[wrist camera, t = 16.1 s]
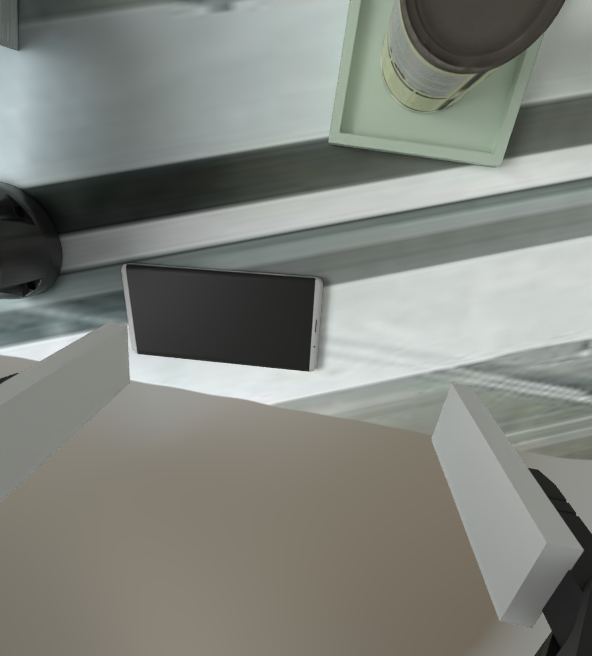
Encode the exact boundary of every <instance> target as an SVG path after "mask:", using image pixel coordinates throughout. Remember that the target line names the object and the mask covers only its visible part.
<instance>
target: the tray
mask: <svg viewBox="0 0 592 656" xmlns="http://www.w3.org/2000/svg"><path fill="white" fill-rule="evenodd" d="M393 4H394V0H350V4H349V10H348V17H347V24H346V30H345V37H344V43H343V50H342V56H341V63H340V69H339V76H338V82H337V89H336V96H335V102H334V109H333V115H332V122H331V128H330V135H329V141H328V143H329V144H331V145H338V146H345V147H352V148H359V149H366V150H374V151H381V152H388V153H395V154H402V155H409V156H416V157H423V158H431V159H438V160H445V161H452V162H459V163H466V164H473V165H481V166H488V167H498V166H501V163H502V160H503V157H504V154H505V151H506V148H507V145H508V142H509V139H510V136H511V133H512V130H513V127H514V123H515V120H516V117H517V114H518V111H519V108H520V105H521V102H522V99H523V96H524V93H525V90H526V87H527V84H528V81H529V77H530V74H531V71H532V68H533V65H534V62H535V59H536V56H537V53H538V50H539V47H540V44H541V41H542V38H543V35H544V33H543V34H542V35H541V36H540V37H539V38H538V39H537V40H536V41H535V42H534V43H533V44H532V45H531V46H530V47H529V48H527V49H526V50H525V51H524V52H522V53H521V54H520V55H518V56H517V57H515V58H514V59H512V60H511V61H509V62H507V63H505V64H503V65H502V66H501V67H500V68H499V69H497V70H496V71H495V72H494V73H492V74H491V75H490V76H489V77H487V78H486V79H485V80H483V81H482V82H481V83H480V84H478V85H477V86H476V87H475V88H473V89H472V90H471V91H470V92H468V93H467V94H466V95H465V96H464V97H463V98H462V99H461V100H460V101H459V102H457V103H456V104H454V105H453V106H452V107H449V108H448V109H445V110H443V111H440V112H436V113H431V114H420V113H413V112H411V111H409V110H406V109H404V108H403V107H401V106H400V105H399V104H397V103H396V102H395V101H394V100H393V99H392V97H391V96H390V95H389V93H388V91H387V90H386V88H385V86H384V83H383V79H382V75H381V68H380V54H381V47H382V42H383V39H384V36H385V33H386V31H387V27H388V23H389V19H390V16H391V12H392V8H393Z"/></svg>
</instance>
